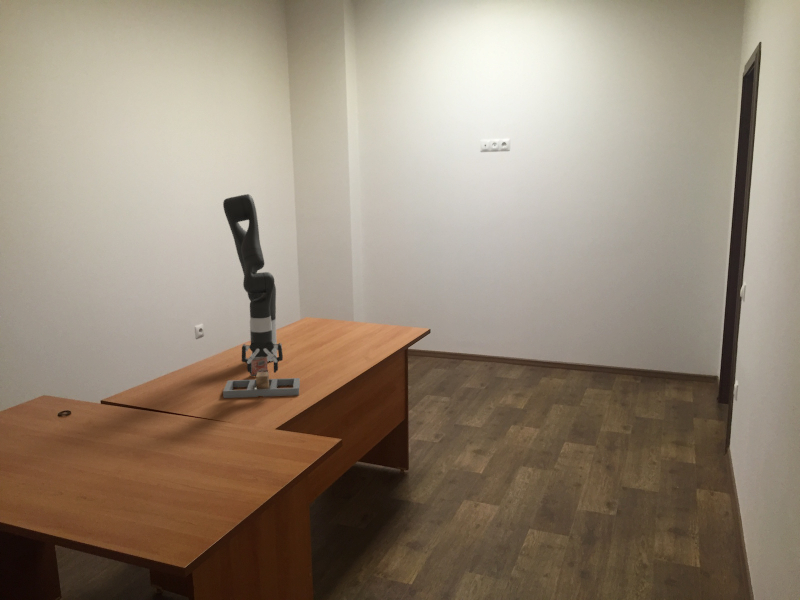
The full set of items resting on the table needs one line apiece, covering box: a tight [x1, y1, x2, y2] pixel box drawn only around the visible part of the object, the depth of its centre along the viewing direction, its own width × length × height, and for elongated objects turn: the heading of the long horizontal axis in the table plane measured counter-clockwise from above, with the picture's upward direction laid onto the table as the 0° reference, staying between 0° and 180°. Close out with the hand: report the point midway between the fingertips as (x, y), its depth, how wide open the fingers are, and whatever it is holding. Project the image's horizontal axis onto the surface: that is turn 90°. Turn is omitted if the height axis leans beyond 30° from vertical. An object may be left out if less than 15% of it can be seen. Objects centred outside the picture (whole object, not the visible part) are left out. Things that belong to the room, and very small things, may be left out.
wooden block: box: [255, 371, 270, 389], centre depth 230 cm, size 4×5×6 cm
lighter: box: [249, 351, 269, 377], centre depth 249 cm, size 8×3×10 cm, turn 143°
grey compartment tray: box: [222, 377, 301, 399], centre depth 230 cm, size 12×26×2 cm, turn 97°
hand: (263, 372), depth 229 cm, fingers open, 8 cm apart
